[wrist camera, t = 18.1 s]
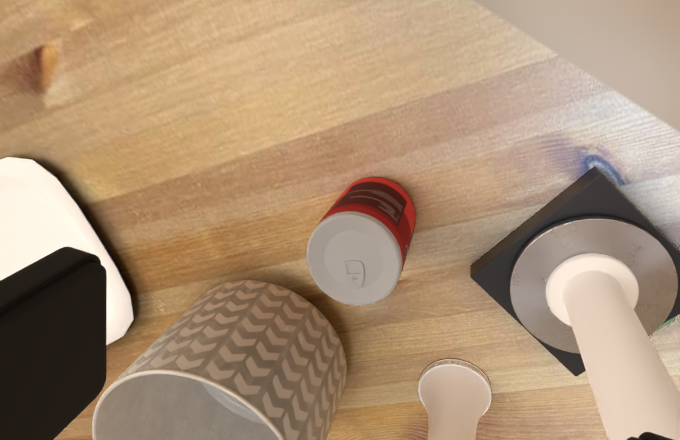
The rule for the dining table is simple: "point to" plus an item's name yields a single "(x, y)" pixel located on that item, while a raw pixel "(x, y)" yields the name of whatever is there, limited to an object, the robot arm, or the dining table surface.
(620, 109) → the dining table surface
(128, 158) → the dining table surface
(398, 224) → the canned food
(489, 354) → the dining table surface
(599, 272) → the candle
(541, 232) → the scale
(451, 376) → the vase
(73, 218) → the plate
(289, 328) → the planter
